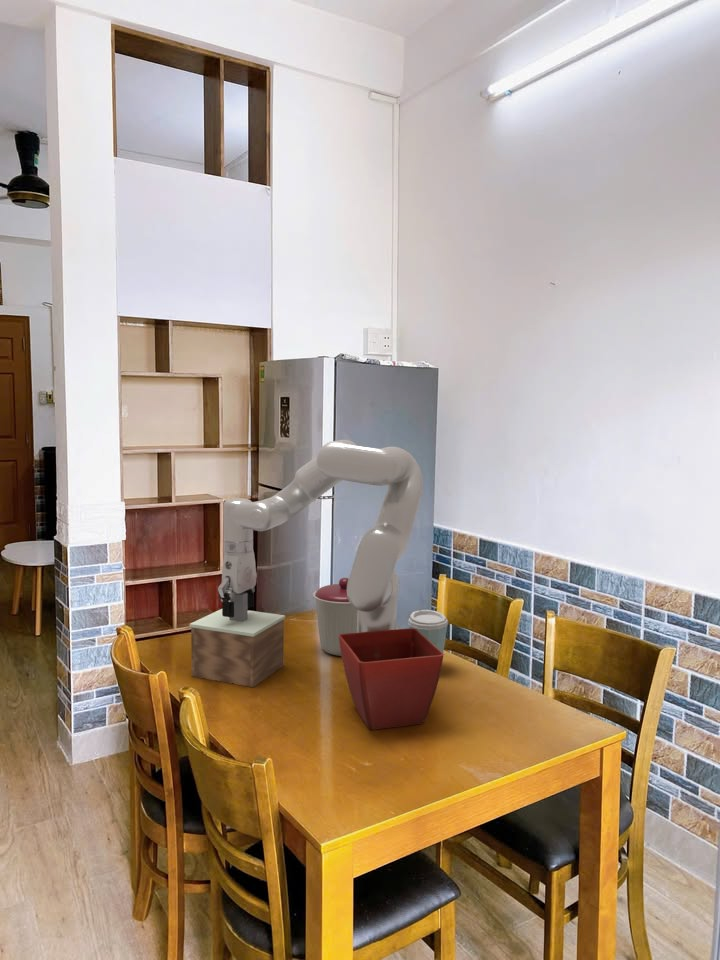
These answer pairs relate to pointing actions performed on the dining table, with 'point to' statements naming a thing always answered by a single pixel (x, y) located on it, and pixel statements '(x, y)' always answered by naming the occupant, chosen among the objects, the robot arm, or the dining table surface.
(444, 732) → the dining table surface
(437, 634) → the disposable coffee cup
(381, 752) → the dining table surface
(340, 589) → the canister
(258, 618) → the lid
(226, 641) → the box
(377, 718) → the plant pot
